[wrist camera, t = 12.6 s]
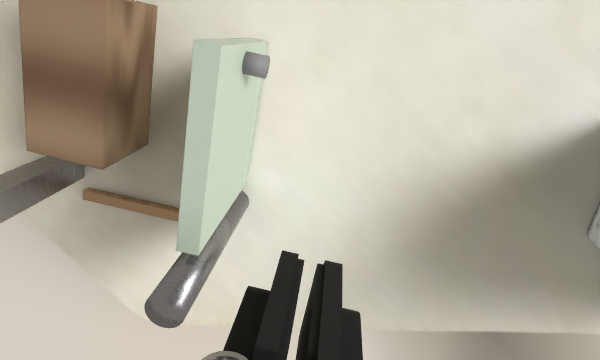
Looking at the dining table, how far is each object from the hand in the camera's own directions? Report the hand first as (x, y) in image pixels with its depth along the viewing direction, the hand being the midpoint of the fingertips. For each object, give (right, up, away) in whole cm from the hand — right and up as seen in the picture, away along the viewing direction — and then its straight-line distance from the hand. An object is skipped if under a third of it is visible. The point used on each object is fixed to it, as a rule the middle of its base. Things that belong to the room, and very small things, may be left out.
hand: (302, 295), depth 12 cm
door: (-3, +8, +15) cm, 18 cm away
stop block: (-13, +12, +16) cm, 24 cm away
